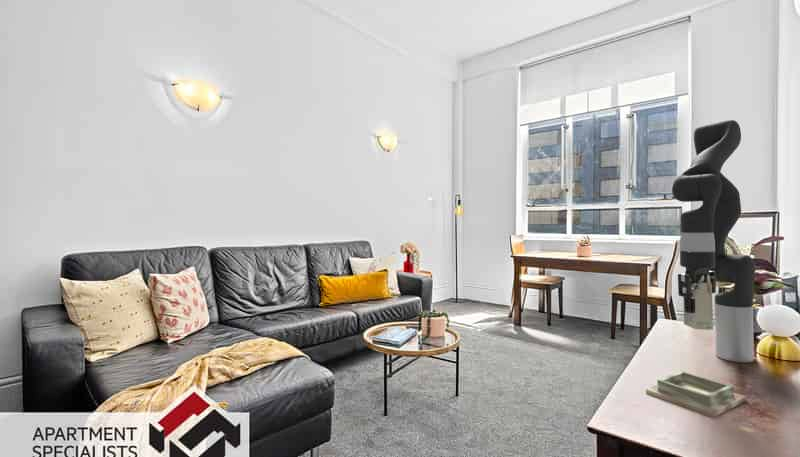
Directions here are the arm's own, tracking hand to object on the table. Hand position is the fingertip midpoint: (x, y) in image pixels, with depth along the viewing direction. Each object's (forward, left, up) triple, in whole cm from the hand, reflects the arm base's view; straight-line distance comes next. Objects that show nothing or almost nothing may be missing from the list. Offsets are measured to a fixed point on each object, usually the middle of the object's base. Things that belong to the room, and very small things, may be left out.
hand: (697, 310), depth 105 cm
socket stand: (+7, +2, -21) cm, 22 cm away
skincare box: (0, 0, -5) cm, 5 cm away
